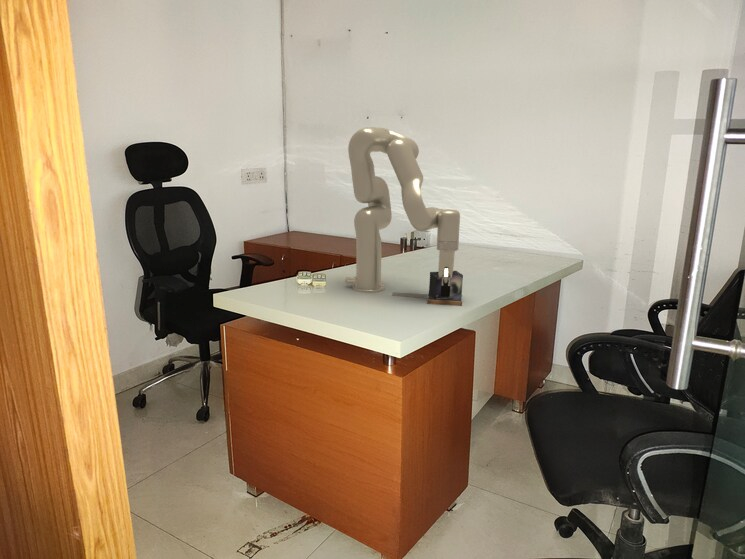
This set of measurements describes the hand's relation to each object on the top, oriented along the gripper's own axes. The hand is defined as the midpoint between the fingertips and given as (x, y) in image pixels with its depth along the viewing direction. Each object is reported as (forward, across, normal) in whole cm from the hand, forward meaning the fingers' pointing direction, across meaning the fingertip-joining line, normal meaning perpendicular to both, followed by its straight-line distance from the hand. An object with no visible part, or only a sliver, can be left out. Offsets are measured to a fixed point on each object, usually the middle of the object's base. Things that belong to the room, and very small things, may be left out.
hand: (445, 292), depth 186 cm
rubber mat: (+3, 0, -13) cm, 13 cm away
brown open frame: (+3, 0, 0) cm, 3 cm away
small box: (+3, 0, 0) cm, 3 cm away
